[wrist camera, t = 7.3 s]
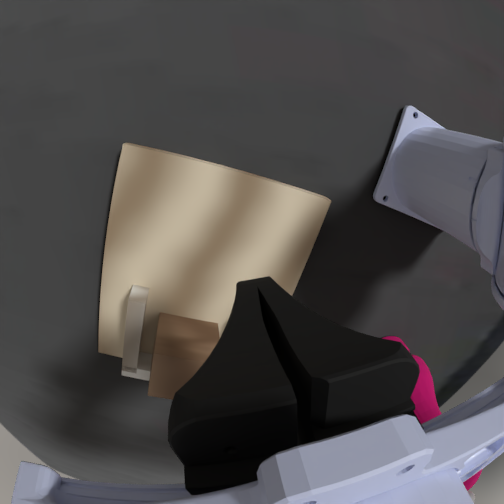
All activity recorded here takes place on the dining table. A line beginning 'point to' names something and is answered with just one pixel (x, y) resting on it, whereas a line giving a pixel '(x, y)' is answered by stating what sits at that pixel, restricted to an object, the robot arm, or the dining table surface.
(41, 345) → the dining table surface
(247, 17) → the dining table surface
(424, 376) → the pepper mill
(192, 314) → the board
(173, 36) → the dining table surface
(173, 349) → the block
